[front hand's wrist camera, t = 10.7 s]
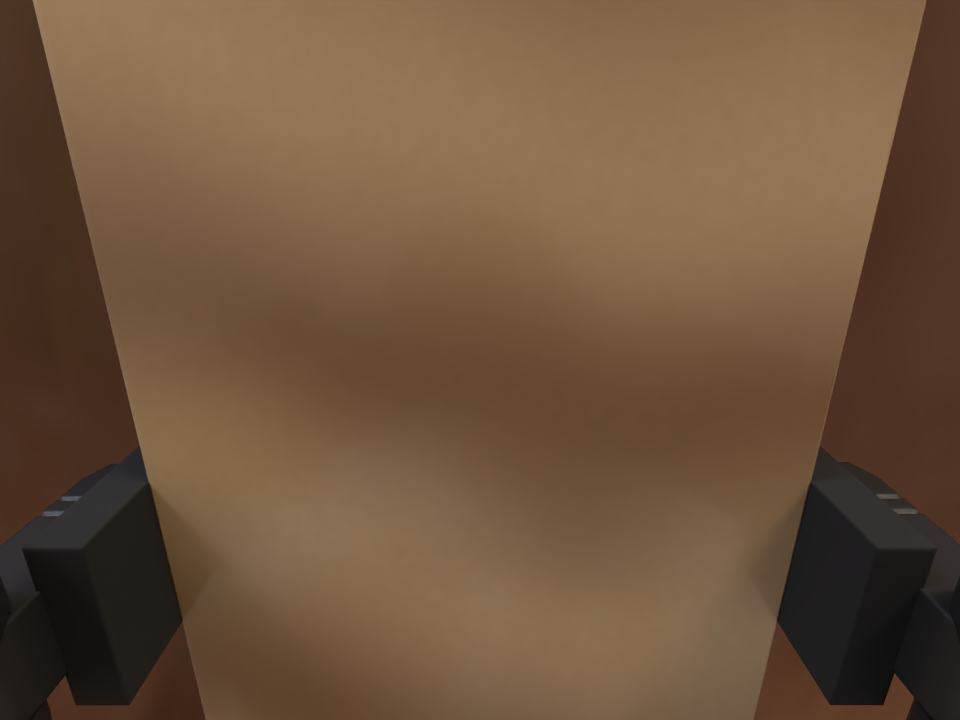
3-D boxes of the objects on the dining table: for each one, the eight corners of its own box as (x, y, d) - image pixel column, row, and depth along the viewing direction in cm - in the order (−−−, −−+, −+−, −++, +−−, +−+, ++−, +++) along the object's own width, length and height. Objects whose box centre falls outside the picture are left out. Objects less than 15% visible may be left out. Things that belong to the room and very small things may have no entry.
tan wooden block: (270, -106, 13) (-105, -563, 5) (689, -106, 13) (1064, -564, 5) (333, 483, 19) (213, 755, 10) (626, 483, 19) (746, 755, 10)
